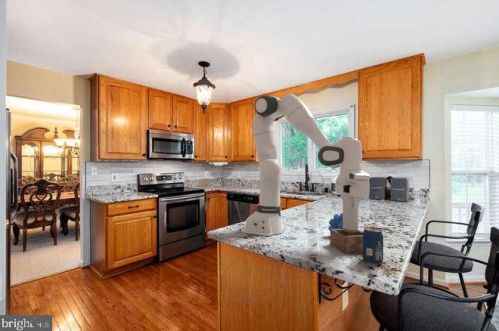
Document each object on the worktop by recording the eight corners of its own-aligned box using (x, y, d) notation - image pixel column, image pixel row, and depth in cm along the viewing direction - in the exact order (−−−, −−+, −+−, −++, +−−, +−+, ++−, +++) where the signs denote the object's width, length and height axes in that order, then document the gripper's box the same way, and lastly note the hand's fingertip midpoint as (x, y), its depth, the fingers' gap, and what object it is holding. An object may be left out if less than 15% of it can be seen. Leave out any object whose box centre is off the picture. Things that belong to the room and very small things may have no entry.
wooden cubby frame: (344, 253, 95) (344, 236, 95) (330, 244, 106) (330, 229, 106) (371, 252, 97) (371, 235, 97) (355, 243, 108) (355, 228, 108)
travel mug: (340, 230, 101) (340, 184, 101) (345, 227, 106) (346, 183, 106) (355, 233, 97) (356, 185, 97) (360, 230, 102) (360, 184, 102)
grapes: (349, 234, 122) (349, 211, 122) (353, 238, 115) (353, 214, 116) (326, 233, 124) (326, 210, 124) (329, 237, 117) (329, 213, 117)
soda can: (366, 256, 92) (366, 226, 92) (385, 261, 87) (386, 229, 87) (359, 261, 88) (359, 229, 88) (379, 267, 83) (379, 233, 83)
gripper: (331, 173, 112) (331, 202, 112) (358, 175, 91) (357, 210, 91) (344, 173, 113) (343, 202, 113) (372, 175, 92) (372, 210, 92)
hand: (350, 206), depth 102 cm, fingers closed on travel mug, 6 cm apart
